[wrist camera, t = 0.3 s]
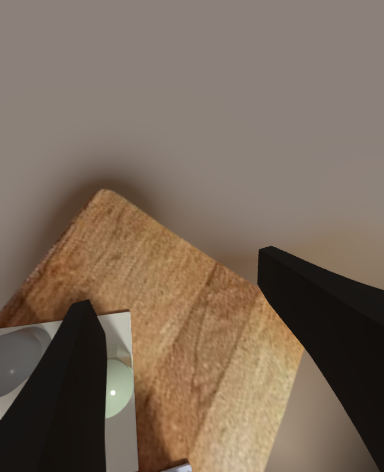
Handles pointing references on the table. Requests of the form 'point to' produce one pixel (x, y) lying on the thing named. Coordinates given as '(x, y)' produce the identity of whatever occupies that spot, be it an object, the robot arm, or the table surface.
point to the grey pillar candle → (20, 356)
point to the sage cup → (118, 379)
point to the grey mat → (116, 427)
